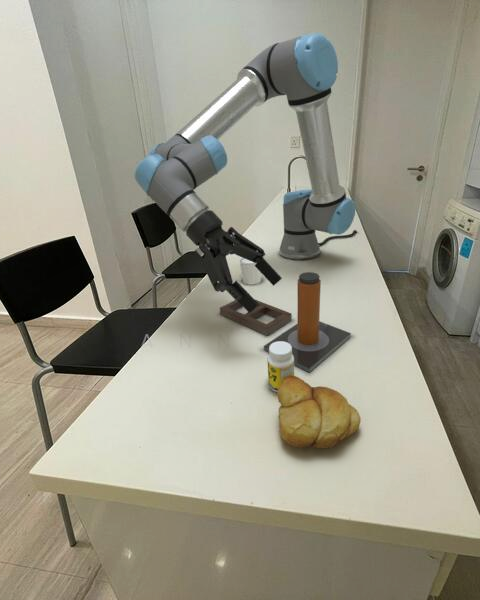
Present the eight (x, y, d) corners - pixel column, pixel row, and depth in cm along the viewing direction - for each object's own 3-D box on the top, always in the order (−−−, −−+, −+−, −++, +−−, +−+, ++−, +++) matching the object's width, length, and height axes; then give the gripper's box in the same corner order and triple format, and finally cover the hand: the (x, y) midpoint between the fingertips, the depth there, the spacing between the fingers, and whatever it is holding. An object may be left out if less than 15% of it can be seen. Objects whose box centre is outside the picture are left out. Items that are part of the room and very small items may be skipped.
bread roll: (357, 411, 55) (361, 373, 51) (363, 463, 46) (368, 422, 43) (280, 405, 57) (279, 368, 53) (272, 454, 48) (270, 413, 44)
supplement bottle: (264, 380, 62) (262, 343, 59) (287, 373, 64) (286, 337, 60) (274, 396, 58) (273, 358, 55) (298, 388, 60) (298, 351, 56)
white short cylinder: (260, 286, 101) (259, 264, 98) (238, 284, 102) (236, 263, 99) (265, 277, 107) (264, 256, 104) (244, 276, 108) (243, 255, 105)
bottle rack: (245, 301, 92) (244, 295, 91) (291, 320, 82) (291, 313, 81) (220, 314, 86) (219, 307, 85) (267, 336, 76) (267, 328, 75)
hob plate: (307, 320, 82) (307, 316, 81) (350, 336, 74) (351, 332, 74) (263, 349, 71) (263, 345, 71) (309, 372, 64) (309, 368, 63)
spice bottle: (305, 331, 75) (306, 269, 68) (322, 338, 72) (325, 275, 66) (293, 340, 72) (292, 276, 65) (310, 347, 69) (312, 282, 63)
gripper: (217, 219, 82) (276, 281, 84) (150, 250, 61) (230, 332, 63) (234, 197, 78) (295, 264, 79) (169, 224, 57) (254, 312, 59)
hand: (267, 294), depth 71 cm, fingers open, 13 cm apart
